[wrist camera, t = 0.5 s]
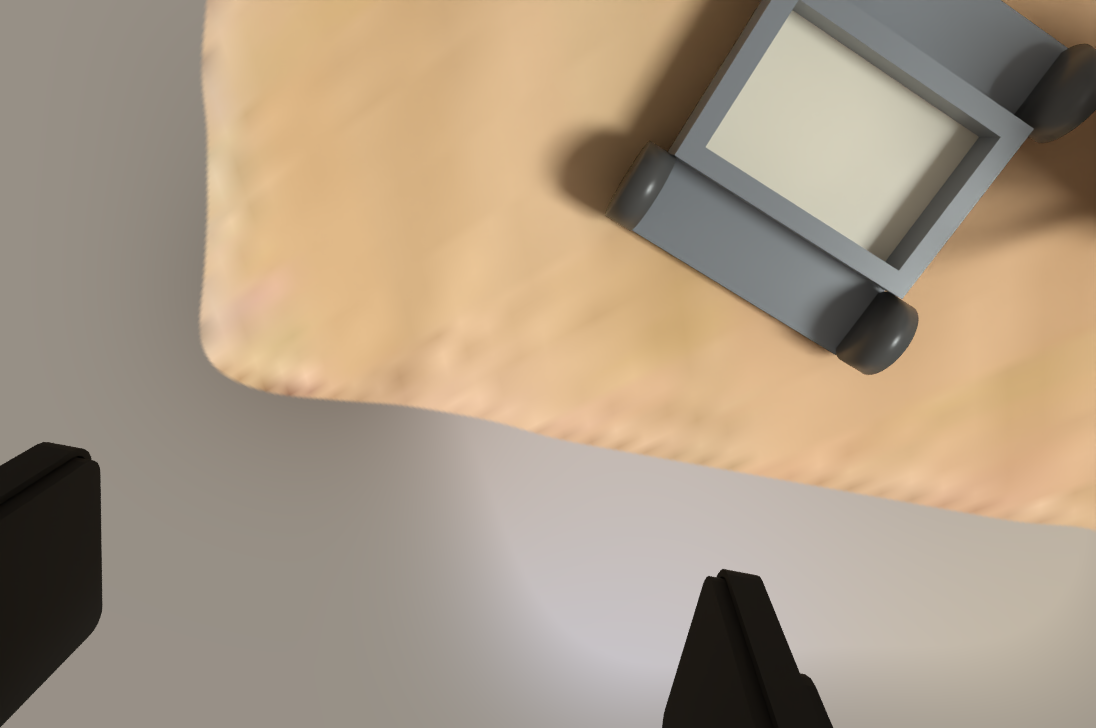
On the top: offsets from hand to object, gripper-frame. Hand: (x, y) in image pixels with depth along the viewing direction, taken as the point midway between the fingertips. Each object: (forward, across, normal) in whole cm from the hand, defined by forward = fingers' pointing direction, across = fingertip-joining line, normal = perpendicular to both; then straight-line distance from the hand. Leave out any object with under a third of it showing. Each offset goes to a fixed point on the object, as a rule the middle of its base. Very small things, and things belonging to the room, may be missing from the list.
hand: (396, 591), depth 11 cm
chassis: (+28, -14, -9) cm, 32 cm away
